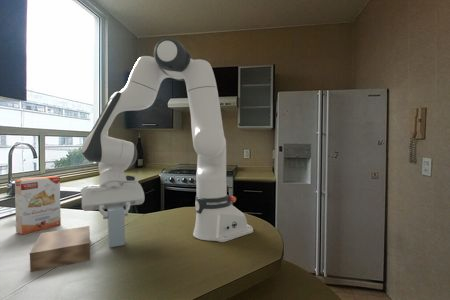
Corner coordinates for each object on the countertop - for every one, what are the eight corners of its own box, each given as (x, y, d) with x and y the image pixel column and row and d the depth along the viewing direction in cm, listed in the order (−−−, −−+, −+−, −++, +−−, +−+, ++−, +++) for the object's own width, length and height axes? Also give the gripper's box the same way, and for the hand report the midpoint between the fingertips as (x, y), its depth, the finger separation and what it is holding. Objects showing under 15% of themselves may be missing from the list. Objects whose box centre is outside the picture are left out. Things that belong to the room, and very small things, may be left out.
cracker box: (22, 235, 96) (20, 180, 96) (15, 232, 99) (13, 179, 99) (61, 225, 108) (60, 176, 108) (54, 223, 111) (53, 175, 111)
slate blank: (123, 240, 89) (122, 206, 89) (125, 244, 85) (124, 208, 85) (108, 242, 87) (107, 207, 87) (109, 247, 83) (108, 211, 82)
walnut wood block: (89, 239, 90) (89, 225, 90) (89, 259, 74) (89, 242, 74) (41, 248, 83) (41, 233, 83) (30, 272, 68) (29, 253, 67)
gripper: (80, 181, 87) (80, 216, 79) (141, 176, 97) (147, 207, 88) (80, 192, 91) (80, 226, 83) (140, 186, 101) (145, 217, 92)
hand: (116, 216), depth 85 cm, fingers closed on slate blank, 5 cm apart
